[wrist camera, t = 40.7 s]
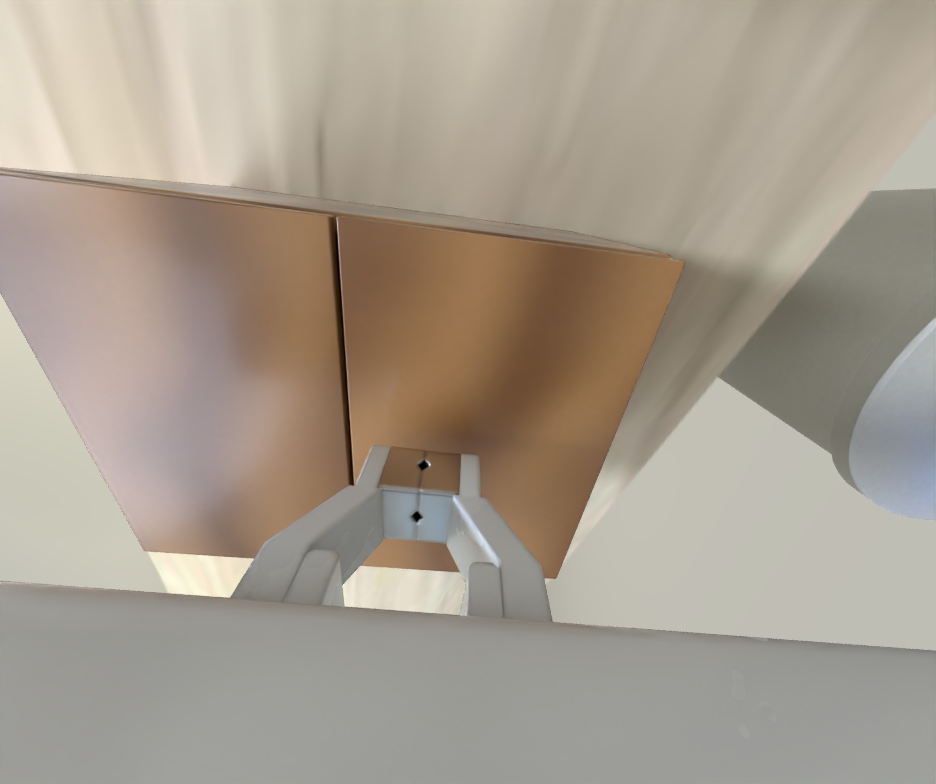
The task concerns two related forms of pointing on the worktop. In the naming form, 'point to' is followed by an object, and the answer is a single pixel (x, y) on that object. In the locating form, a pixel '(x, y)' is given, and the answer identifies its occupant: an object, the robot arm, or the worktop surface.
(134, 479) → the carton
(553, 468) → the carton flap
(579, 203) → the worktop surface
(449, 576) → the worktop surface
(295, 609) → the robot arm
